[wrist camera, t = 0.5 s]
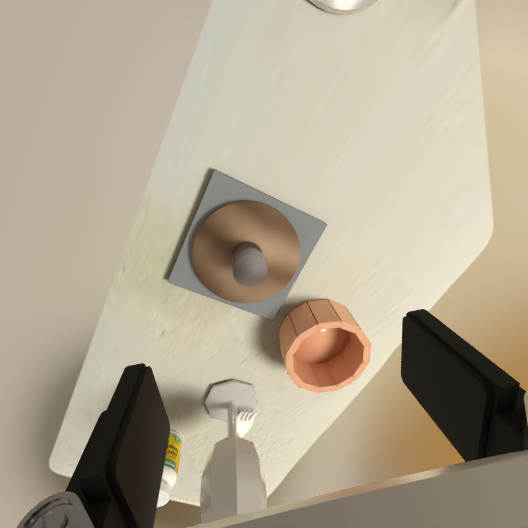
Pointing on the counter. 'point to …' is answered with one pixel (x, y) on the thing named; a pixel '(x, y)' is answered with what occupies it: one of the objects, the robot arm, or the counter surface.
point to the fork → (244, 423)
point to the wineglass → (231, 458)
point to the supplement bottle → (170, 468)
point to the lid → (246, 252)
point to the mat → (232, 190)
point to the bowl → (323, 346)
